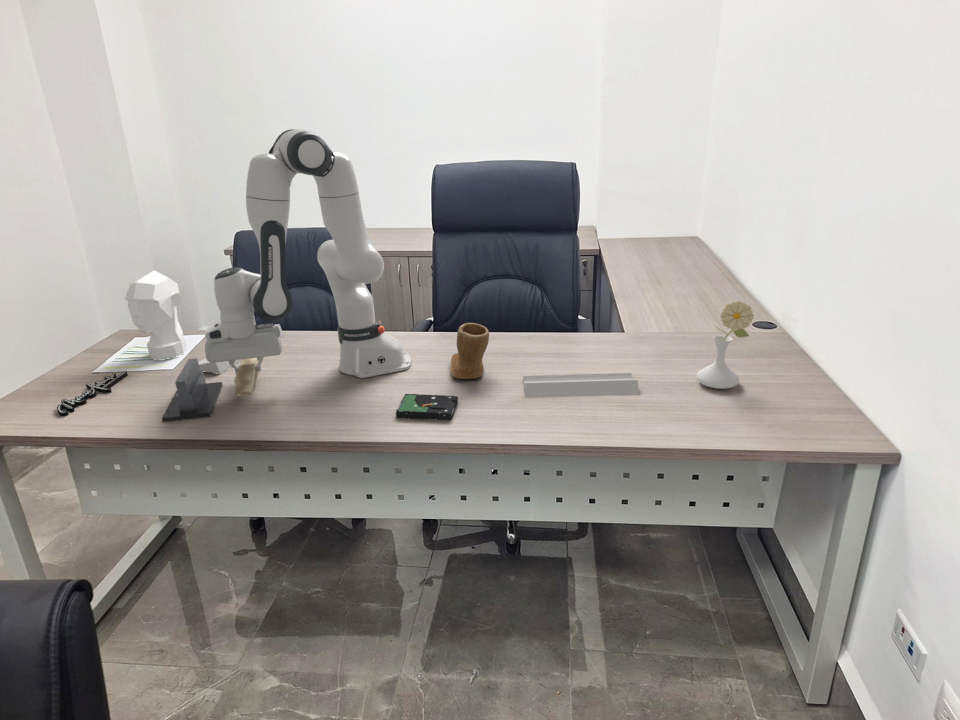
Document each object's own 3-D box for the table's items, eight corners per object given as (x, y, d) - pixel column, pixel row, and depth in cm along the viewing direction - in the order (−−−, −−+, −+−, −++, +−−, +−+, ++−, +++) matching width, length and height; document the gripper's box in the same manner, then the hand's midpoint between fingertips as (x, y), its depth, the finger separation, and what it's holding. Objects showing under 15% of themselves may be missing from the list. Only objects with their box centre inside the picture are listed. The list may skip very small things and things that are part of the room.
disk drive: (458, 404, 173) (405, 402, 175) (458, 395, 171) (404, 392, 173) (451, 422, 163) (395, 419, 165) (451, 413, 162) (395, 410, 164)
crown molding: (630, 378, 184) (630, 367, 183) (639, 397, 173) (640, 385, 172) (522, 381, 184) (522, 370, 183) (525, 400, 174) (525, 388, 172)
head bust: (125, 366, 203) (102, 282, 192) (160, 344, 220) (141, 266, 209) (170, 368, 201) (149, 283, 190) (202, 345, 218) (184, 266, 207)
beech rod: (261, 362, 191) (259, 348, 189) (252, 394, 171) (249, 379, 170) (248, 364, 191) (245, 350, 189) (237, 395, 171) (233, 380, 169)
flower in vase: (688, 385, 177) (697, 300, 168) (706, 372, 185) (716, 290, 175) (734, 398, 169) (747, 309, 159) (751, 384, 177) (764, 298, 167)
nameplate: (77, 413, 171) (42, 413, 172) (78, 418, 172) (44, 418, 172) (134, 371, 196) (104, 371, 197) (135, 375, 197) (105, 375, 198)
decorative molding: (197, 380, 199) (221, 375, 195) (190, 366, 197) (214, 361, 193) (262, 341, 228) (284, 336, 224) (257, 328, 227) (279, 324, 223)
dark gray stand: (222, 385, 187) (215, 353, 183) (210, 416, 169) (202, 382, 165) (179, 390, 185) (172, 358, 181) (162, 422, 167) (153, 387, 163)
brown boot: (490, 381, 184) (489, 333, 178) (449, 382, 184) (447, 334, 178) (489, 360, 198) (488, 315, 192) (451, 362, 198) (449, 316, 192)
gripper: (279, 318, 179) (287, 363, 185) (203, 326, 176) (214, 371, 182) (277, 326, 174) (285, 372, 179) (198, 334, 170) (209, 380, 176)
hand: (248, 372), depth 180 cm, fingers closed on beech rod, 4 cm apart
